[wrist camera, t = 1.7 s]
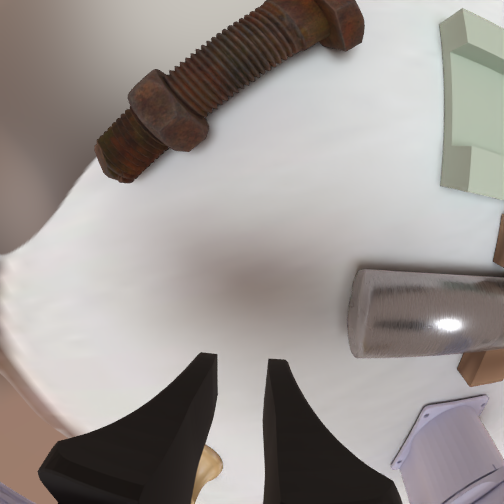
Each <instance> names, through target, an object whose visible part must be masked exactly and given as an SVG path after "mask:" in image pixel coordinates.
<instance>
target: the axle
mask: <svg viewBox="0 0 504 504" xmlns="http://www.w3.org/2000/svg"><path fill="white" fill-rule="evenodd" d="M347 327H348V340H349V346H350V349H351V352H352V354H353V356H354V357H356V358H398V357H420V356H436V355H449V354H461V353H471V352H480V351H489V350H497V349H504V277H488V276H470V275H452V274H435V273H418V272H402V271H386V270H370V269H361V270H360V271H359V272H358V273H357V275H356V277H355V279H354V282H353V286H352V291H351V297H350V302H349V307H348V320H347Z"/></svg>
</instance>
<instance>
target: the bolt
mask: <svg viewBox="0 0 504 504" xmlns="http://www.w3.org/2000/svg"><path fill="white" fill-rule="evenodd" d="M364 27H365V25H364V18H363V15H362V13H361V11H360V9H359V7H358V5H357V3H356V1H355V0H266V1H265V2H264V4H263V5H261V6H260V7H258V8H256V9H255V12H254V11H252V12H250V14H249V15H245V16H244V19H243V18H241V19H239V22H234V23H233V26H232V25H229V26H228V28H227V29H228V30H226V29H223V30H222V34H221V33H217V35H216V37H212V38H211V40H212V42H210V41H207V46H204V45H201V50H199V49H196V54H191V58H186V59H185V62H180V67H178V66H175V71H171V70H170V71H169V73H170V75H166V74H164V73H163V72H161V71H160V70H158V69H155V70H152V71H151V72H150V73H149V74H148V75H146V76H145V77H144V78H143V79H142V80H141V81H140V82H139V83H138V84H137V85H136V86H135V87H134V88H133V89H132V90H131V91H130V92H129V94H128V100H129V103H130V105H131V106H130V109H127V110H126V111H125V114H122V115H121V118H118V119H117V120H116V122H114V123H113V124H112V127H109V128H108V131H105V132H104V135H102V136H100V138H99V139H97V144H96V145H95V153H96V156H97V158H98V161H99V163H100V166H101V168H102V170H103V173H104V174H105V175H106V176H108V177H109V178H112V179H115V180H118V181H119V182H120V183H132V182H133V181H134V179H136V178H137V177H138V175H140V174H141V173H142V171H144V170H145V169H146V167H148V166H150V163H152V162H154V160H155V159H157V158H158V157H159V155H161V154H163V152H164V150H165V151H166V150H167V149H168V147H170V148H172V149H173V150H176V151H184V152H189V151H191V150H192V149H193V148H194V147H195V146H197V145H198V144H199V143H200V142H202V141H203V140H204V139H205V138H206V136H207V133H208V129H209V126H208V123H207V121H206V119H205V118H204V117H207V112H208V113H212V108H214V109H217V104H220V105H222V104H223V102H222V100H225V101H228V96H231V97H233V92H236V93H239V90H238V88H241V89H244V84H245V85H249V81H253V82H254V81H255V79H254V77H257V78H259V77H260V73H261V74H265V70H268V71H270V70H271V67H270V66H272V67H276V63H279V64H281V63H282V60H287V56H288V57H291V56H293V53H294V54H296V53H298V52H299V51H304V50H306V49H307V48H309V47H311V46H312V45H314V44H316V43H317V42H320V43H321V44H322V45H323V46H326V47H330V48H334V49H338V50H342V51H348V50H349V49H351V48H353V47H355V46H356V45H358V44H360V43H362V39H363V35H364ZM281 59H282V60H281Z"/></svg>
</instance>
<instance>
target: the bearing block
mask: <svg viewBox="0 0 504 504" xmlns="http://www.w3.org/2000/svg"><path fill="white" fill-rule="evenodd" d="M493 262H495V263H497V264H498V265H500V266H502V267H503V268H504V214H502V218H501V224H500V230H499V235H498V240H497V245H496V250H495V255H494V259H493ZM457 370H458V371H459V373H460V374H461V375H462V377H463V378H464V379H465V381H466V382H467V384H468V385H469V387H473V386H479V385H484V384H489V383H494V382H499V381H503V379H504V349H497V350H489V351H480V352H471V353H464V354H463V356H462V359H461V361H460V364H459V366H458V368H457Z"/></svg>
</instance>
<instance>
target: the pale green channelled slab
mask: <svg viewBox="0 0 504 504" xmlns="http://www.w3.org/2000/svg"><path fill="white" fill-rule="evenodd" d="M439 25H440V34H441V43H442V54H443V69H444V97H445V117H444V146H443V161H442V173H441V183H440V186H444V187H448V188H453V189H457V190H461V191H466V192H470V193H475V194H479V195H483V196H488V197H492V198H496V199H500V200H504V29H503V28H501V27H499V26H497V25H496V24H494V23H492V22H490V21H488V20H486V19H484V18H482V17H480V16H478V15H476V14H474V13H472V12H470V11H468V10H465V9H463V8H462V9H460V10H459V11H458V12H456V13H455V14H453V15H452V16H450V17H449V18H448V19H446V20H445V21H443V22H442V23H441V24H439Z"/></svg>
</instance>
